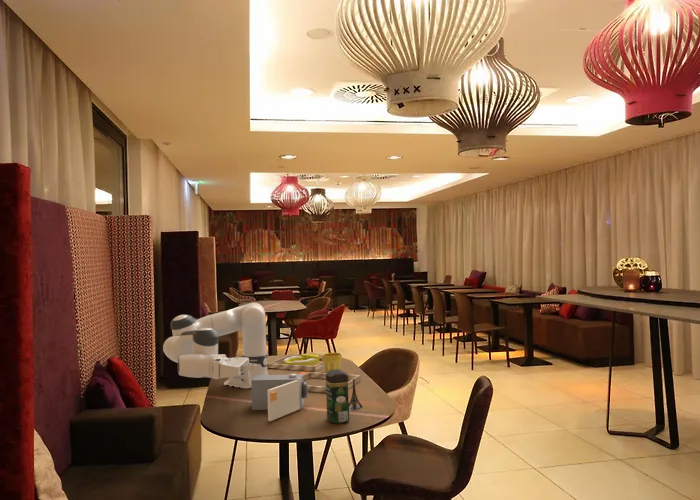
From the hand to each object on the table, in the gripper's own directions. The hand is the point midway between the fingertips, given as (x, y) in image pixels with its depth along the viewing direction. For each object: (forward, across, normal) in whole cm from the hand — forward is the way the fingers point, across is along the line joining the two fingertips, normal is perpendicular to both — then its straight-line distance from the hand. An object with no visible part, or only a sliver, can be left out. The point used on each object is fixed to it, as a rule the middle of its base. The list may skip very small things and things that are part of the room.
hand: (256, 366), depth 202 cm
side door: (+11, -5, -19) cm, 23 cm away
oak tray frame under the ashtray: (+7, -99, -18) cm, 100 cm away
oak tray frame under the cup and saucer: (+23, -52, -18) cm, 60 cm away
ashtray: (+7, -98, -18) cm, 100 cm away
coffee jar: (+31, +2, -19) cm, 37 cm away
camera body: (+7, -18, -19) cm, 27 cm away
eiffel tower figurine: (+37, -14, -19) cm, 44 cm away
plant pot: (+26, -78, -18) cm, 84 cm away
